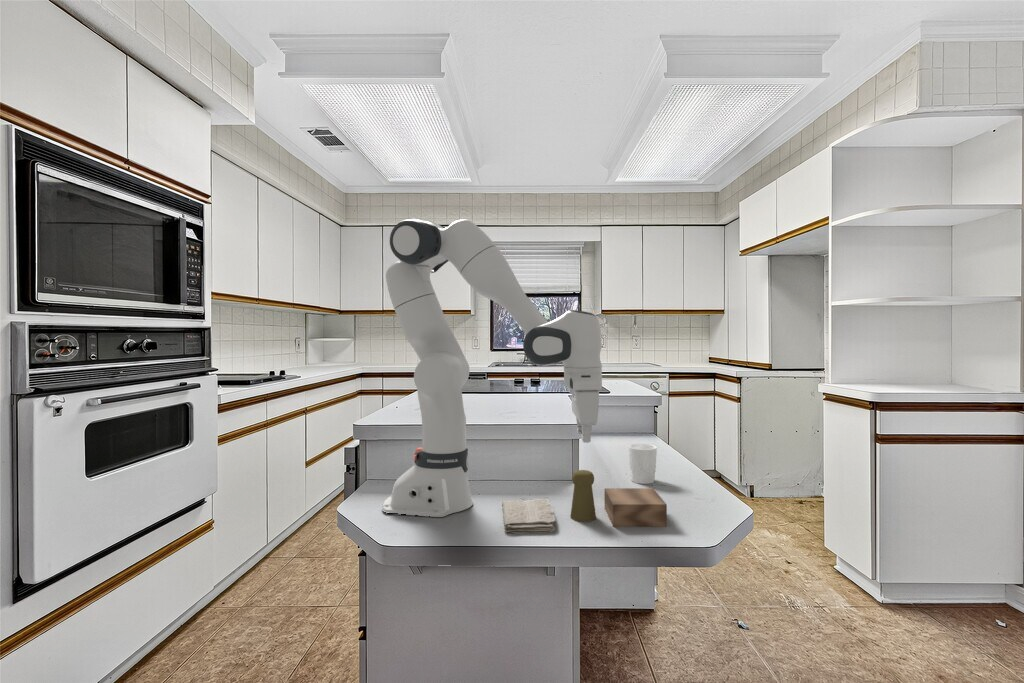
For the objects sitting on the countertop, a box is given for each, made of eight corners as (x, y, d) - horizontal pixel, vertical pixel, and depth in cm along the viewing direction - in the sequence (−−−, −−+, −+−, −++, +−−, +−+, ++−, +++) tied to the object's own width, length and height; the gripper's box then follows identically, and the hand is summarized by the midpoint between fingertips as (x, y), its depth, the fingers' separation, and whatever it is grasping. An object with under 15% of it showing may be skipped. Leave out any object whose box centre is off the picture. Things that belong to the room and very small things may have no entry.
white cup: (656, 485, 151) (656, 450, 150) (628, 483, 153) (628, 448, 152) (656, 478, 158) (657, 444, 158) (629, 476, 160) (629, 443, 160)
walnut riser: (613, 526, 120) (613, 504, 119) (604, 508, 132) (604, 488, 131) (666, 526, 119) (666, 504, 119) (653, 508, 131) (653, 488, 131)
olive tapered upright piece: (595, 522, 122) (595, 475, 122) (569, 520, 123) (569, 473, 123) (596, 513, 128) (596, 468, 128) (571, 512, 129) (571, 467, 129)
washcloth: (504, 536, 115) (504, 522, 115) (500, 508, 133) (500, 496, 133) (558, 535, 116) (558, 521, 116) (547, 507, 134) (547, 495, 134)
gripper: (565, 375, 135) (566, 429, 136) (573, 383, 115) (574, 447, 115) (590, 375, 135) (591, 429, 136) (603, 383, 115) (604, 446, 115)
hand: (583, 437), depth 125 cm, fingers open, 8 cm apart
